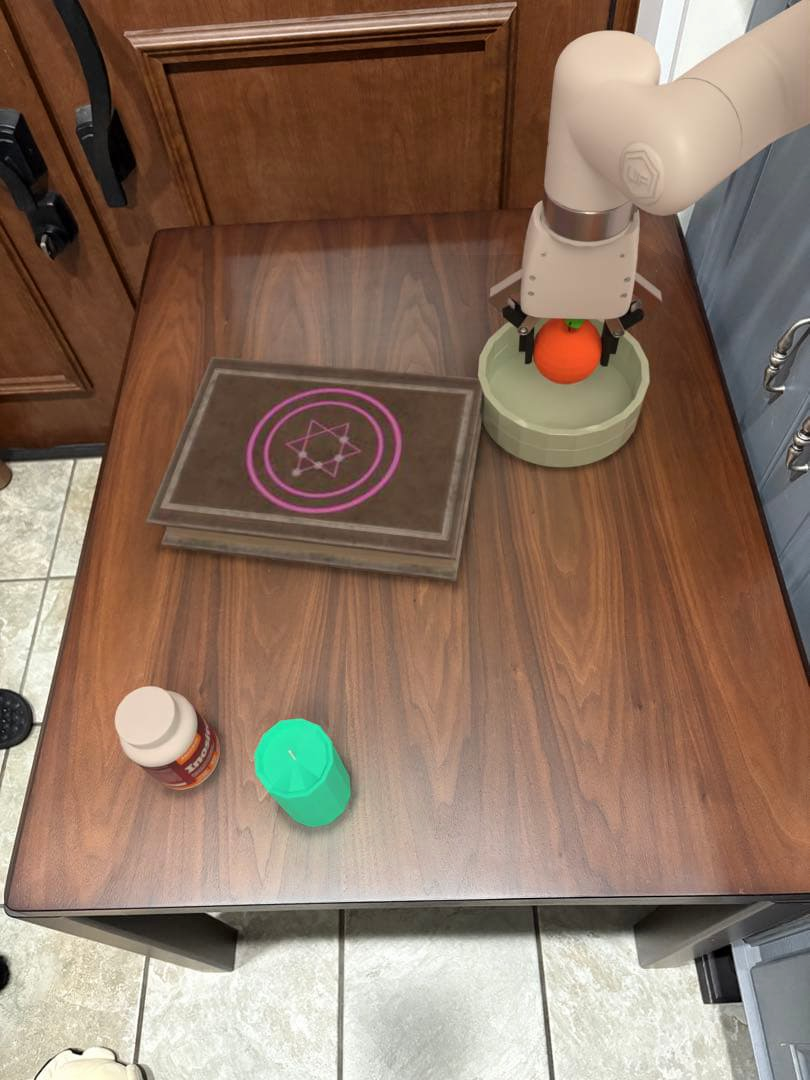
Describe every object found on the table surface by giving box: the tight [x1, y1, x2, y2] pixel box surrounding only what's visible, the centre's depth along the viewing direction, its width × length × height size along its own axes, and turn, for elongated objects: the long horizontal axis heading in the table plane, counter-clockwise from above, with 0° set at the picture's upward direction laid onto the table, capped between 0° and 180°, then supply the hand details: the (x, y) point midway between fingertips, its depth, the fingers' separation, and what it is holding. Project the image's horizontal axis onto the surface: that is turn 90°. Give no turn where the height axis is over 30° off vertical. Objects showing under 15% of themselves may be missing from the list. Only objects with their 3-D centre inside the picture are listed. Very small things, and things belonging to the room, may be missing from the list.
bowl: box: [477, 318, 651, 468], centre depth 85 cm, size 18×18×6 cm
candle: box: [253, 717, 352, 828], centre depth 63 cm, size 6×6×12 cm
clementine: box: [533, 318, 602, 384], centre depth 80 cm, size 8×7×7 cm
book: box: [145, 356, 483, 583], centre depth 83 cm, size 30×22×5 cm
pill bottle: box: [114, 685, 221, 791], centre depth 65 cm, size 6×6×11 cm
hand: (565, 354), depth 81 cm, fingers closed on clementine, 7 cm apart
